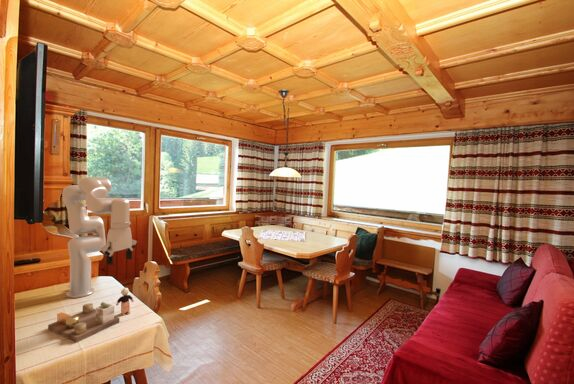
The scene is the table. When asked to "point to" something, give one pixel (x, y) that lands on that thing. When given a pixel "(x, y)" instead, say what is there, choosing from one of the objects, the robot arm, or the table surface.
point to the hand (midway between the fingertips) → (119, 261)
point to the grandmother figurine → (125, 302)
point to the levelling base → (87, 322)
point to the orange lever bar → (68, 320)
